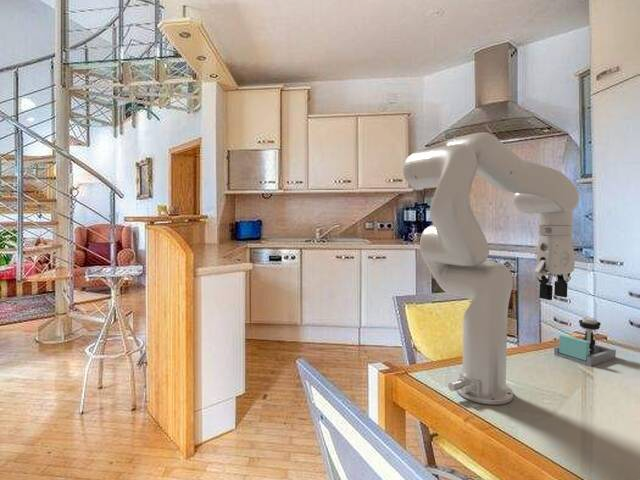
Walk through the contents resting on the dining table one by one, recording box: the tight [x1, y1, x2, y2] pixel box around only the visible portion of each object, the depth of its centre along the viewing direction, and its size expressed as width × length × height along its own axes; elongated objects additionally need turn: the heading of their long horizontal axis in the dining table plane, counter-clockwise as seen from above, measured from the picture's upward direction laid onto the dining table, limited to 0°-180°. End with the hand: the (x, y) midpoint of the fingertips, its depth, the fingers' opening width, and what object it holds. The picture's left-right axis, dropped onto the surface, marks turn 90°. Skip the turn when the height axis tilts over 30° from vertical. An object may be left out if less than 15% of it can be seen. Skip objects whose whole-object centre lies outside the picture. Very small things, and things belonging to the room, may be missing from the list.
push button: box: [578, 316, 602, 354], centre depth 113 cm, size 7×5×10 cm
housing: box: [553, 343, 617, 367], centre depth 113 cm, size 13×10×2 cm
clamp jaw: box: [558, 334, 589, 361], centre depth 110 cm, size 2×7×5 cm, turn 27°
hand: (553, 297), depth 104 cm, fingers open, 5 cm apart
